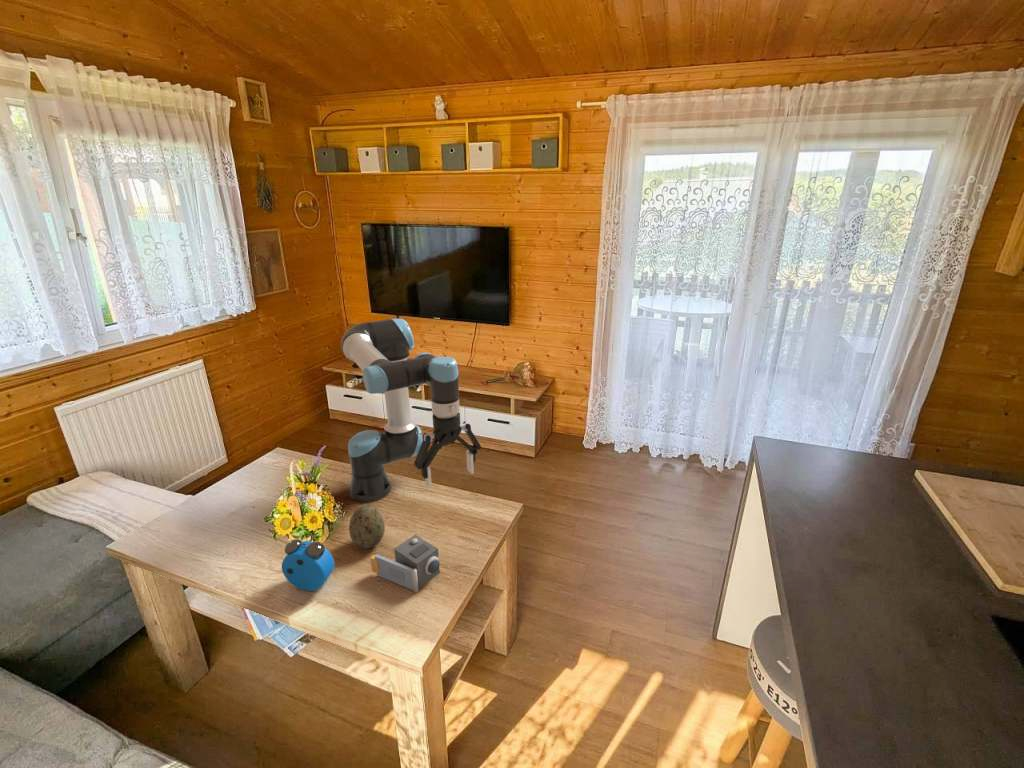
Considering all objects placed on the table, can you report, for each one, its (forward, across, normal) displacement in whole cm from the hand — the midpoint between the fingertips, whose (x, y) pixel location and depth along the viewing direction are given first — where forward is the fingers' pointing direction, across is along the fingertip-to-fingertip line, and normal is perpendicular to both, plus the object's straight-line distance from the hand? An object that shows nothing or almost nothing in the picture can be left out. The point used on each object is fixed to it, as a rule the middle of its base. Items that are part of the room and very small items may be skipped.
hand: (450, 479), depth 139 cm
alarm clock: (+28, -40, +13) cm, 50 cm away
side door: (+28, -20, 0) cm, 34 cm away
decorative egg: (+28, -20, +20) cm, 40 cm away
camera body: (+28, -12, -1) cm, 31 cm away
